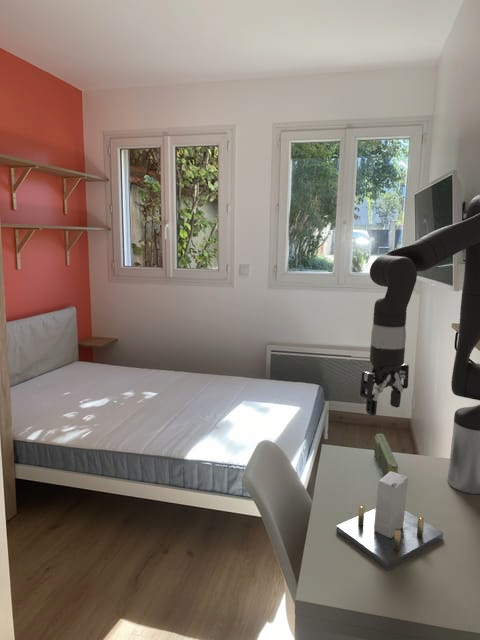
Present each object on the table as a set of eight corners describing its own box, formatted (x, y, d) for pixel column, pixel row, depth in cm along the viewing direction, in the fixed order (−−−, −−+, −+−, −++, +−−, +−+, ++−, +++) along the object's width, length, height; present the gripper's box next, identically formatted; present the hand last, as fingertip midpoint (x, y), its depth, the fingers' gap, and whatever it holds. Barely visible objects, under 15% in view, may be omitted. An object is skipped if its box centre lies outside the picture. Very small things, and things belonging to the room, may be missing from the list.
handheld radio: (384, 454, 138) (403, 499, 113) (373, 453, 138) (390, 499, 114) (385, 433, 137) (404, 475, 112) (374, 433, 137) (391, 474, 113)
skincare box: (385, 518, 102) (389, 469, 100) (404, 527, 99) (409, 476, 97) (372, 531, 98) (376, 479, 96) (392, 540, 95) (396, 487, 93)
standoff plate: (389, 507, 110) (391, 486, 109) (442, 539, 98) (445, 516, 97) (336, 531, 100) (337, 509, 99) (387, 570, 88) (390, 545, 87)
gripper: (394, 336, 110) (389, 399, 114) (353, 344, 103) (350, 411, 106) (421, 342, 104) (415, 409, 107) (380, 351, 96) (376, 422, 100)
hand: (383, 410), depth 107 cm, fingers open, 8 cm apart
